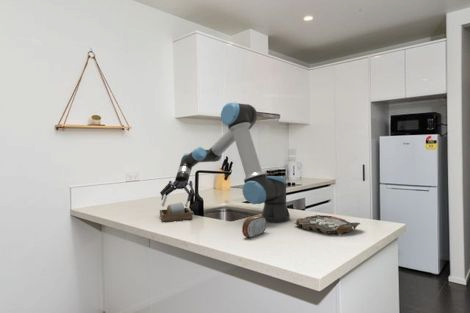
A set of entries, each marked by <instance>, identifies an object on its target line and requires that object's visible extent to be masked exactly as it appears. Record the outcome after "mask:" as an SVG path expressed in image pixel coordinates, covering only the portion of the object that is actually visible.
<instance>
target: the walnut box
mask: <svg viewBox="0 0 470 313" xmlns="http://www.w3.org/2000/svg"><path fill="white" fill-rule="evenodd" d="M184 210H185V213H179V214H167V208H166V209H159V217H160V220H161V222H162V223H163V222H165V223H174V221H176V222H184V221H183V220H188V221H193V212H192V211H191V210H190V209H189V208H187V207H184Z"/></svg>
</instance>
